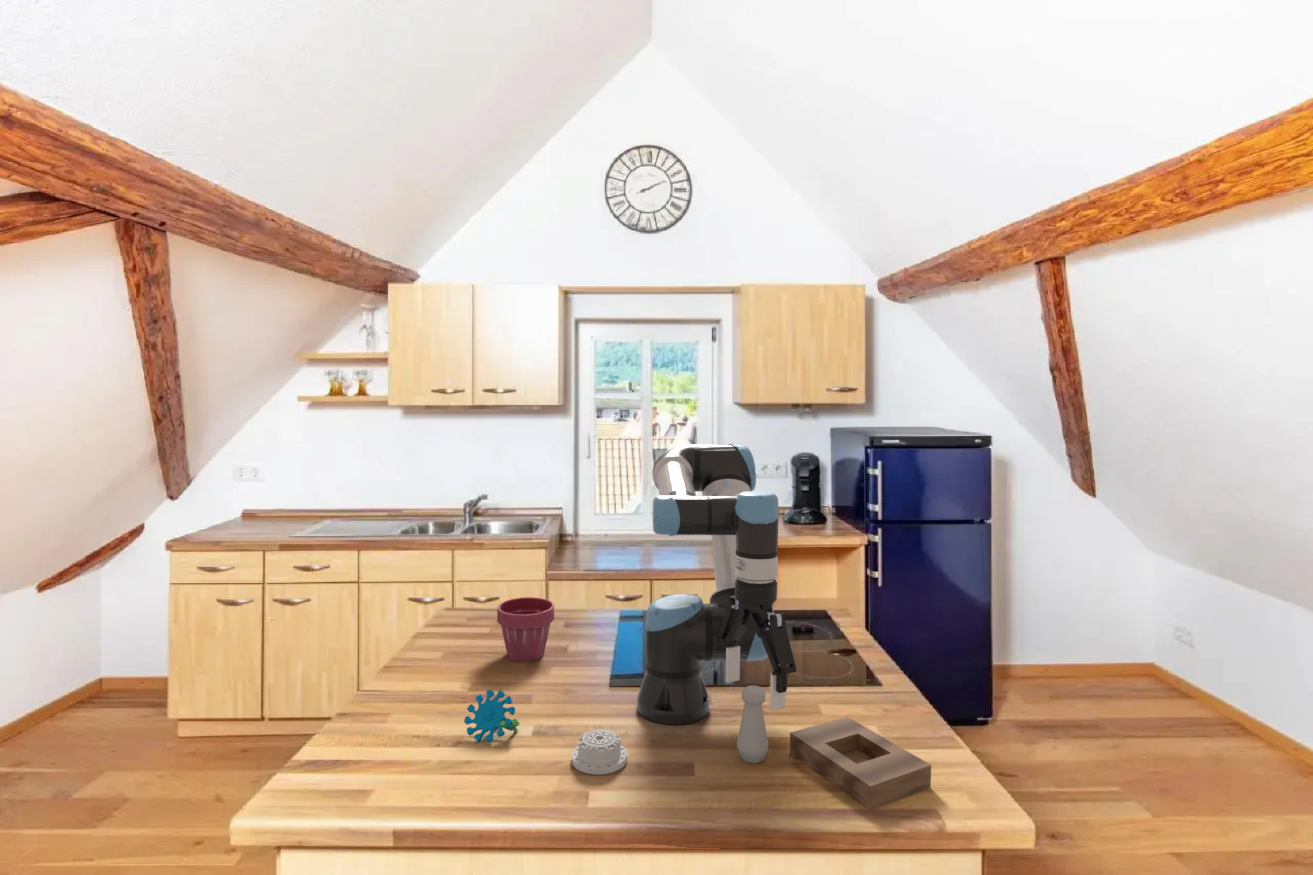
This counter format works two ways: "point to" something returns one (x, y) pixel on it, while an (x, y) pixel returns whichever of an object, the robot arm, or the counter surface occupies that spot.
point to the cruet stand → (860, 762)
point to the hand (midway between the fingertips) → (754, 694)
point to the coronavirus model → (491, 716)
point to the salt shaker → (753, 726)
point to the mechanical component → (599, 753)
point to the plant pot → (525, 626)
